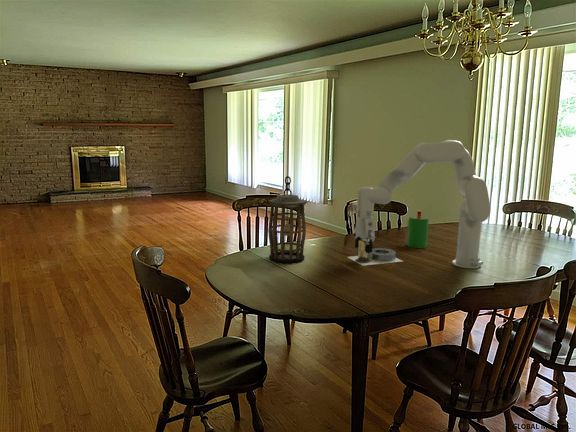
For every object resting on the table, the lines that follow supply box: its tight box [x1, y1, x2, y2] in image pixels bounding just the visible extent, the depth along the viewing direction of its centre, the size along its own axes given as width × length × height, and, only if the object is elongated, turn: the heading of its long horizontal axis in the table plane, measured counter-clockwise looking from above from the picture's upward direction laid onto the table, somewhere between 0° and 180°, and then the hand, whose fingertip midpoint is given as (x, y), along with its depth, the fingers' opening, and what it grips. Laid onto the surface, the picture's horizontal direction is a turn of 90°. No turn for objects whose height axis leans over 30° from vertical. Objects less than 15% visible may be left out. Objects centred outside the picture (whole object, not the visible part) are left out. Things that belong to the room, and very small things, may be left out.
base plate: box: [347, 255, 403, 267], centre depth 217 cm, size 15×22×1 cm
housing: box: [369, 247, 397, 261], centre depth 219 cm, size 13×13×3 cm
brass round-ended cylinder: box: [357, 238, 369, 262], centre depth 213 cm, size 5×5×10 cm
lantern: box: [266, 175, 308, 265], centre depth 215 cm, size 19×19×40 cm
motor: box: [406, 209, 430, 249], centre depth 245 cm, size 10×9×20 cm
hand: (363, 249), depth 212 cm, fingers open, 9 cm apart
